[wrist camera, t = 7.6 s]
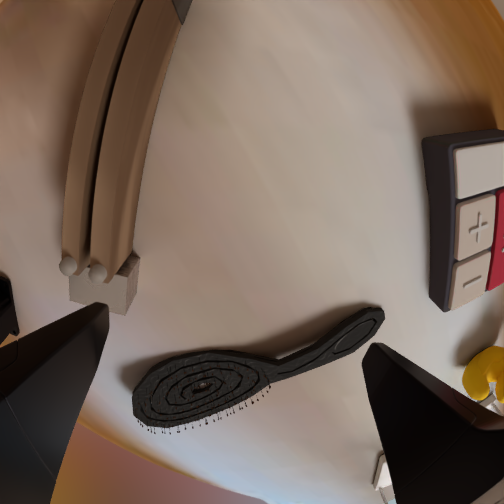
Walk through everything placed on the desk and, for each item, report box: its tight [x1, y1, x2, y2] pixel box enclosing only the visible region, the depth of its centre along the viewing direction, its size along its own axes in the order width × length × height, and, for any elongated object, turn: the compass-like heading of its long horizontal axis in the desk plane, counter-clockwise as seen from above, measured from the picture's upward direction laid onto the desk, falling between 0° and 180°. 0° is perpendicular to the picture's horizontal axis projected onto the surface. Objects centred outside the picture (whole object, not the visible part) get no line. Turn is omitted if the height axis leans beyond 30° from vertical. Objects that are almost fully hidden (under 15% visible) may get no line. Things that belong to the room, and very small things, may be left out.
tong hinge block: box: [69, 256, 140, 316], centre depth 19 cm, size 4×3×3 cm
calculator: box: [422, 129, 504, 312], centre depth 20 cm, size 11×4×15 cm
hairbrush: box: [132, 307, 385, 434], centre depth 24 cm, size 8×4×25 cm
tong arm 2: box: [59, 0, 144, 276], centre depth 14 cm, size 1×19×6 cm, turn 164°
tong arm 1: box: [88, 0, 192, 284], centre depth 14 cm, size 1×19×6 cm, turn 166°
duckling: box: [462, 346, 504, 403], centre depth 25 cm, size 11×5×10 cm, turn 101°
